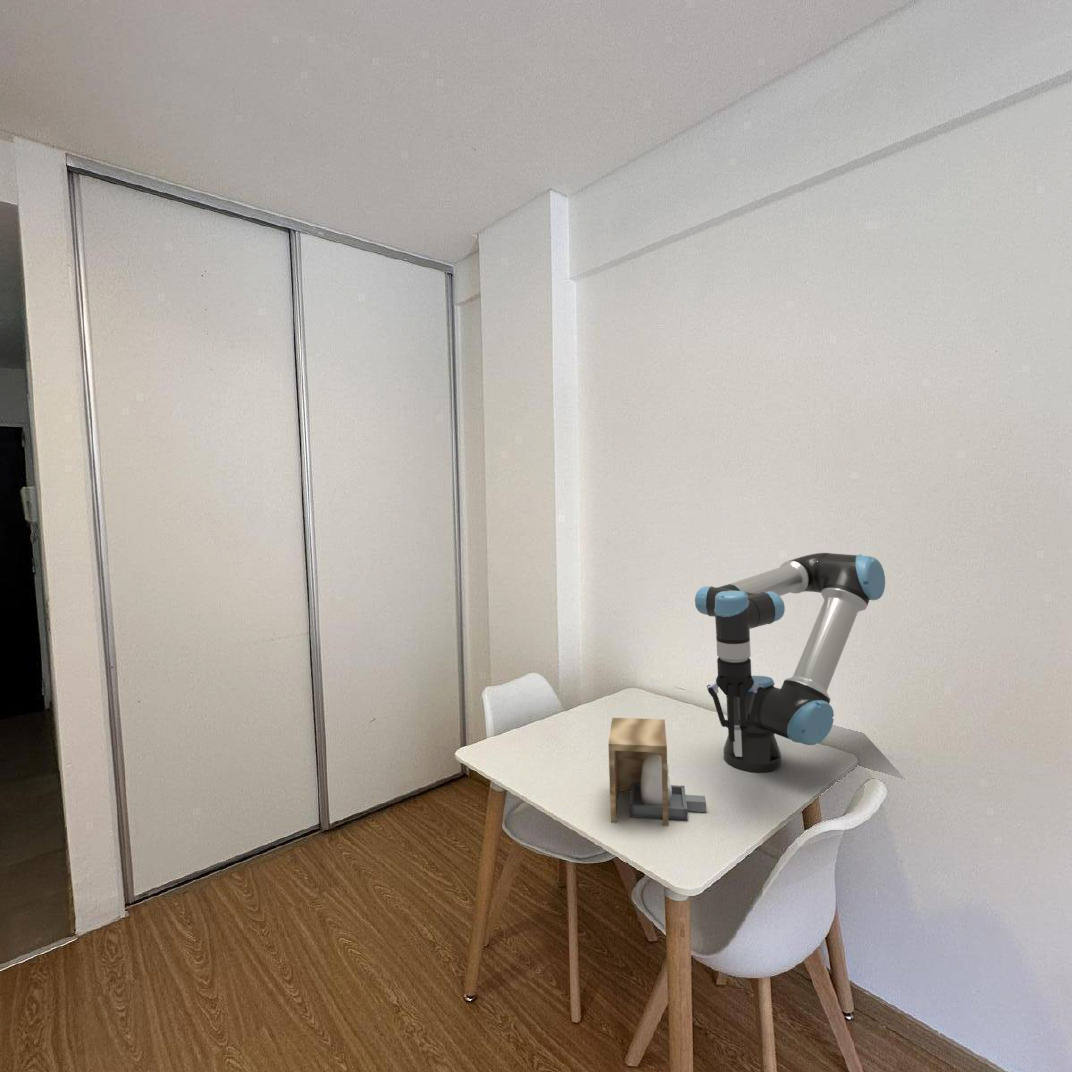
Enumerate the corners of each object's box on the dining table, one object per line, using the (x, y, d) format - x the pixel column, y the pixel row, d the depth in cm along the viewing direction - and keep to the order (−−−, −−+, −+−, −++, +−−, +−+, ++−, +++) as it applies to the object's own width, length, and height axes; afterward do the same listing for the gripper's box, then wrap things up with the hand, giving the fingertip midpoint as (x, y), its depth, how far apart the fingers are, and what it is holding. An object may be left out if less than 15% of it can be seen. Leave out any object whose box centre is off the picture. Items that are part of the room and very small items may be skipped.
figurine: (644, 811, 139) (643, 761, 138) (637, 795, 146) (636, 747, 146) (674, 809, 139) (673, 760, 138) (666, 793, 147) (664, 746, 146)
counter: (666, 790, 150) (664, 719, 149) (668, 825, 134) (666, 746, 133) (614, 788, 152) (612, 717, 151) (610, 822, 137) (608, 743, 135)
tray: (703, 797, 146) (703, 786, 146) (707, 821, 135) (707, 810, 135) (631, 793, 149) (631, 783, 149) (630, 816, 138) (629, 805, 138)
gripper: (759, 652, 142) (763, 747, 144) (703, 653, 144) (707, 746, 146) (766, 661, 135) (770, 761, 137) (706, 663, 137) (711, 761, 139)
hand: (737, 753), depth 142 cm, fingers closed
